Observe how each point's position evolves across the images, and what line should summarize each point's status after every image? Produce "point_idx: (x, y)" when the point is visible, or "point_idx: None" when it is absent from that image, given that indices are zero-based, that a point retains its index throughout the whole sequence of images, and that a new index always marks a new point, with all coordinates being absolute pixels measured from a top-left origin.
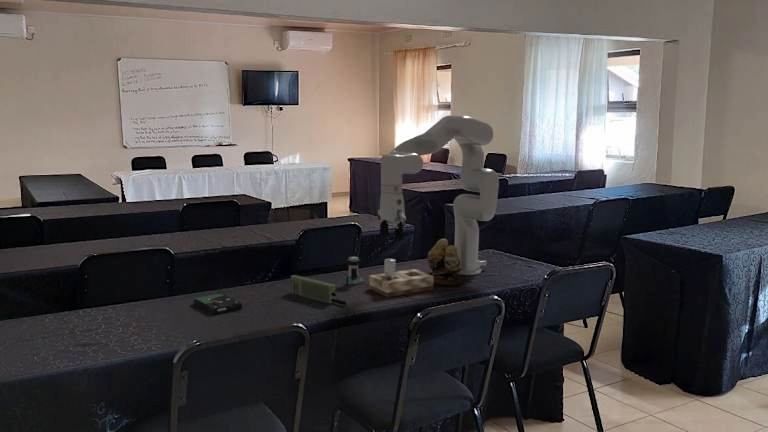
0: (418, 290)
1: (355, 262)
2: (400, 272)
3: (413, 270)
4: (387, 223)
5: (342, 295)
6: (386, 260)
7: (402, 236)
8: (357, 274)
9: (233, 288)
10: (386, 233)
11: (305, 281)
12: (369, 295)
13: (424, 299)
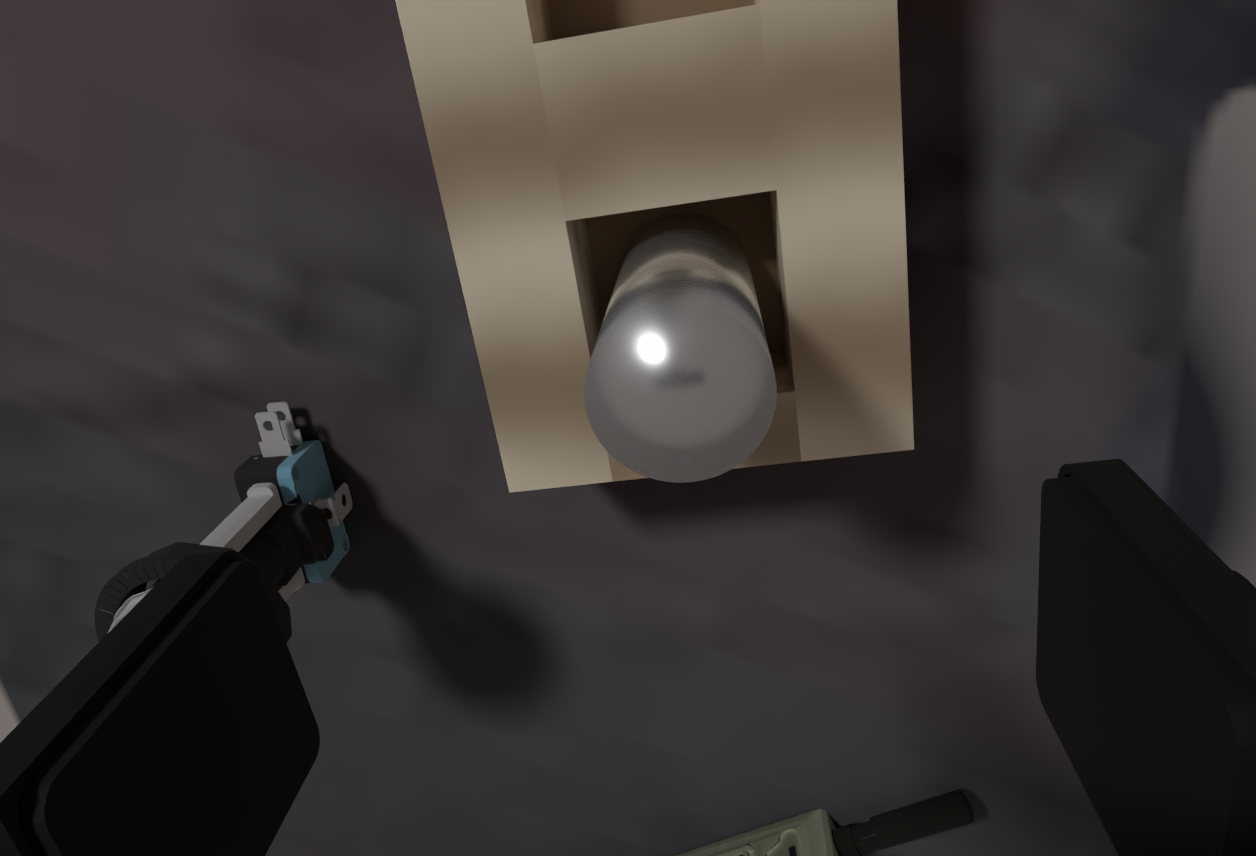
0: None
1: None
2: (476, 49)
3: None
4: (11, 831)
5: (664, 703)
6: (692, 464)
7: (1142, 506)
8: (273, 502)
9: None
10: (260, 614)
11: None
12: (756, 512)
13: (1180, 23)
